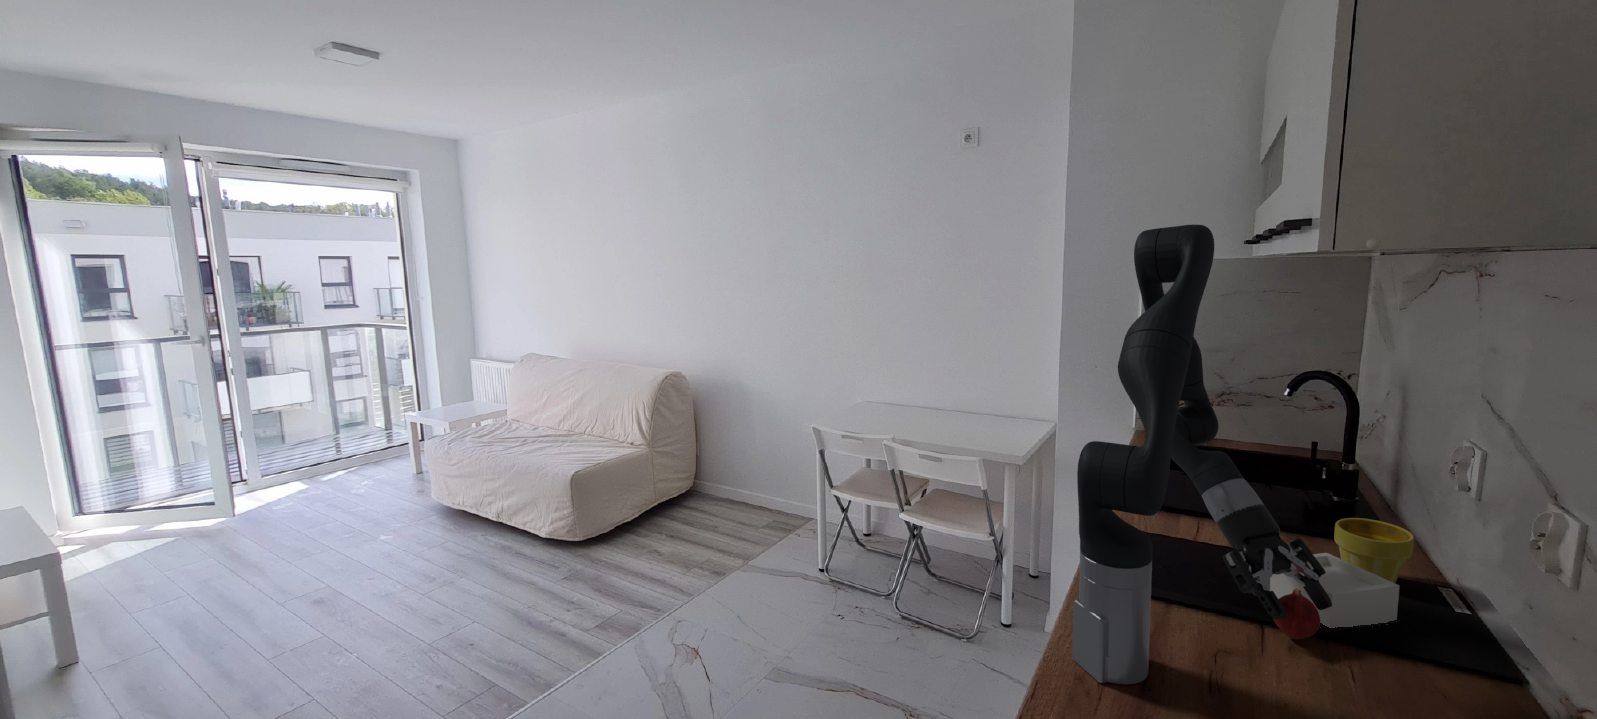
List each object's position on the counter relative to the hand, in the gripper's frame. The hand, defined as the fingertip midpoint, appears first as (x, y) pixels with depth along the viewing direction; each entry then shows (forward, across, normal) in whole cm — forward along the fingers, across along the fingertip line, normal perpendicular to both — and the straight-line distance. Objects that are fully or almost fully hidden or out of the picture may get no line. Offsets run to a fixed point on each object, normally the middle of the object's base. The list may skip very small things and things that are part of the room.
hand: (1304, 612), depth 97 cm
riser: (-1, +13, +8) cm, 15 cm away
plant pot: (-4, +28, +11) cm, 30 cm away
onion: (+3, 0, +4) cm, 5 cm away
